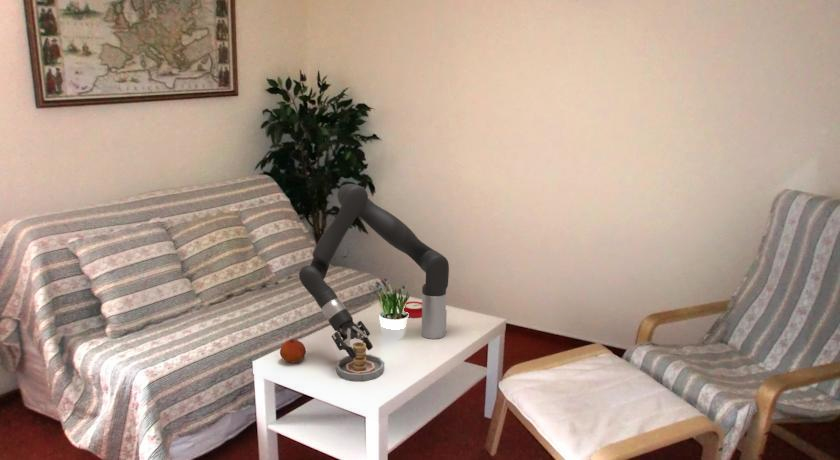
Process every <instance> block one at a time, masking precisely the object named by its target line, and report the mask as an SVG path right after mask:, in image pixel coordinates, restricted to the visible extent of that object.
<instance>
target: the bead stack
mask: <svg viewBox="0 0 840 460" xmlns="http://www.w3.org/2000/svg"><path fill="white" fill-rule="evenodd" d="M352 348H353V350H354V351H355V353H356V354H357V356H356V357H355V358H353V370H354V371H357V372H358V371H365V370H366V354H367V348H366V344H365V343H363V341H355V342H354V343H353V344H352Z"/></svg>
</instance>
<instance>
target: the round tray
mask: <svg viewBox="0 0 840 460" xmlns="http://www.w3.org/2000/svg"><path fill="white" fill-rule="evenodd" d="M384 368H385V361H384V360H383V359H382V358H380V357H378V356H376V355H372V354H368V353H366V370H365V371H358V372H357V371H354V370H353V359H352V358H351V357H350V356H349V355H346V356H344V357H342V358H340V359H339V360H338V361H337V363H336V365H335V370H336V374H337V375H338V376H339V378H342V379H344V380H346V381H352V382H366V381H370V380H374V379H377V378H378V377H380V376H381V375H382V374H383V373H384V371H385V370H384Z"/></svg>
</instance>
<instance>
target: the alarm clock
mask: <svg viewBox="0 0 840 460" xmlns="http://www.w3.org/2000/svg"><path fill="white" fill-rule="evenodd" d="M405 303H406V305H405V308H404V311H405V312H408V313H409V317H408V318H410V317H412V318H411V319H416V318H417V319H419V318H422V301H414V300H413V301H407V302H405Z"/></svg>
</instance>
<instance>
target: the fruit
mask: <svg viewBox="0 0 840 460" xmlns="http://www.w3.org/2000/svg"><path fill="white" fill-rule="evenodd" d="M306 353H307V350H306V347H305V345H304V343H303V342H301V341H299V340H297V339H293V338H290V339H288V340H287V341H285V342H284V343H283V344H282V345H281V346H280V350H279V354H280V356H281V359H282V360H283V361H285V362H286V363H290V364H292V363H297V362H300V361H301V360H303V359H304V358H305V356H306Z"/></svg>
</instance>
